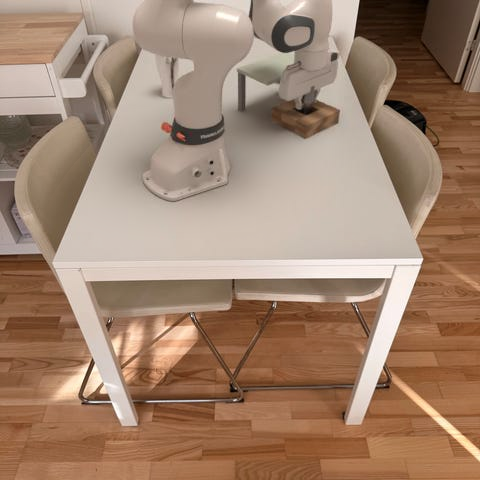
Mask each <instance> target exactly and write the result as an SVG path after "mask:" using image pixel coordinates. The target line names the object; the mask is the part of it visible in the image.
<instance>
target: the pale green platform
mask: <svg viewBox="0 0 480 480" xmlns="http://www.w3.org/2000/svg"><path fill="white" fill-rule="evenodd" d="M293 63H294V53H292V52H289V53H282V52H280V53H277V54H274V55H272V56H269V57H265V58H262V59H260V60H257V61H255V62H251V63H248V64H245V65H242V66H239V67H237V68H236V72H237V110H238V111H240V112H241V113H242V112H244V111H246V107H247V106H246V96H247V94H246V92H247V91H246V90H247V89H246V85H247V83H246V78H247V77H248V78H249V79H252V80H254V81H257V82H259V83H261V84H263V85H265V86H270V85H273V84H276V83H278V82H280V79H281V76H282V72H283V71H284V69H285V68H286V66H288V65H291V64H293Z"/></svg>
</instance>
